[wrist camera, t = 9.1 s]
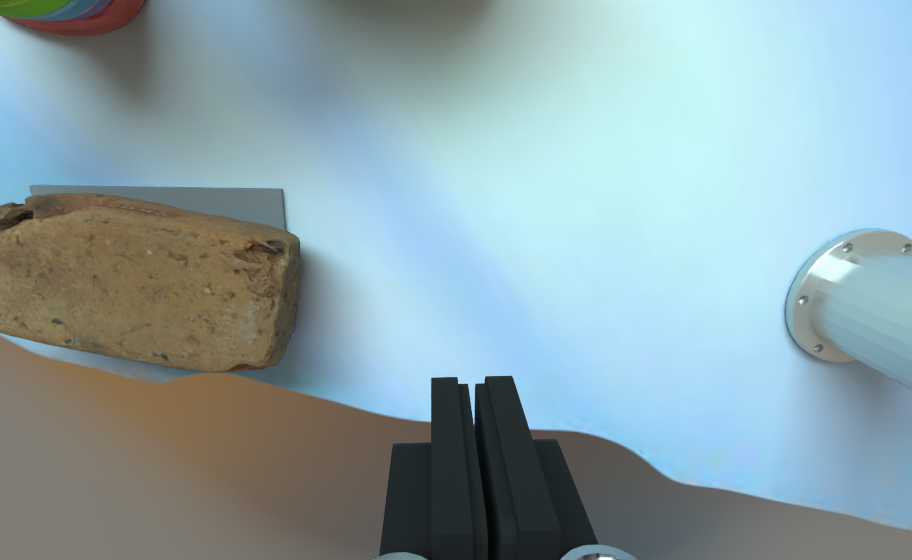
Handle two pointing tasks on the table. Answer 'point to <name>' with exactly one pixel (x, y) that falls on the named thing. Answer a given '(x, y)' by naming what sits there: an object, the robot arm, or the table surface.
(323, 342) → the table surface
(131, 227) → the block
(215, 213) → the mat
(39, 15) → the stacking bear
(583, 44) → the table surface
